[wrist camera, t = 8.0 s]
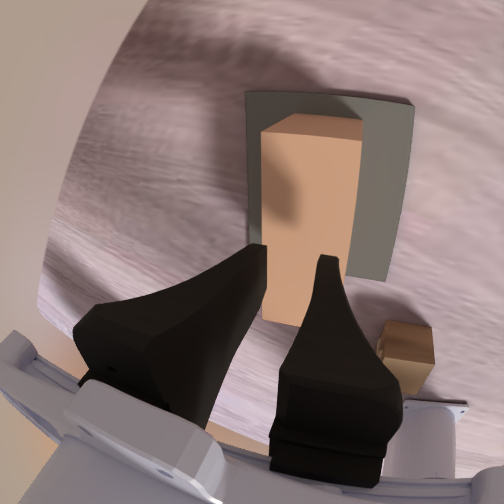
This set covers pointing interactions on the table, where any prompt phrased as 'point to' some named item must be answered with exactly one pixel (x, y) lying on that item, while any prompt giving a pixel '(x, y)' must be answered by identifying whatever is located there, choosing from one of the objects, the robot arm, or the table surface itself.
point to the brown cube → (407, 353)
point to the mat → (370, 174)
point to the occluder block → (306, 205)
